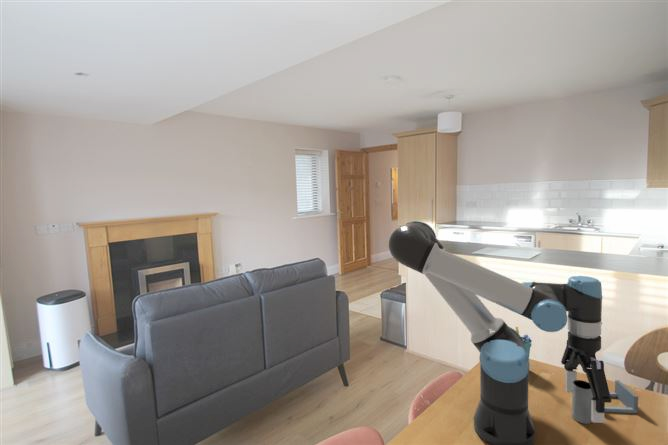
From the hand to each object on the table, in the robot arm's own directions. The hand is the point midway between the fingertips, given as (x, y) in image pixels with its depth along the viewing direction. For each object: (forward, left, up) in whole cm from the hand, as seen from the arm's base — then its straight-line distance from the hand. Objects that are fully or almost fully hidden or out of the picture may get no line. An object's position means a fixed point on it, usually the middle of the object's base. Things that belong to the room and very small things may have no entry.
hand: (583, 405), depth 99 cm
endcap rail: (+11, +8, -4) cm, 14 cm away
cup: (-7, +26, -4) cm, 27 cm away
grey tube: (0, 0, -4) cm, 4 cm away
